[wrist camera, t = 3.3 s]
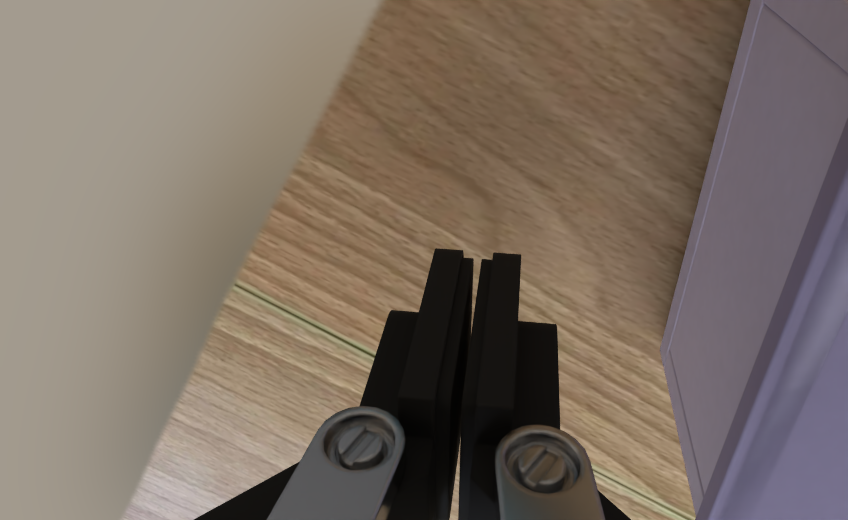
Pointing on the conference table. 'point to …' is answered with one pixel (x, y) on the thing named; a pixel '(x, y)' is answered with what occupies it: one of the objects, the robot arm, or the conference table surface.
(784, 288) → the lavender lidded box
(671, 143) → the conference table surface
